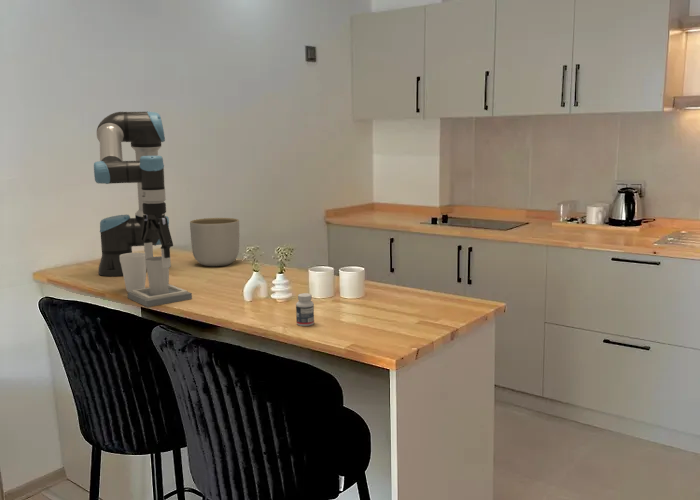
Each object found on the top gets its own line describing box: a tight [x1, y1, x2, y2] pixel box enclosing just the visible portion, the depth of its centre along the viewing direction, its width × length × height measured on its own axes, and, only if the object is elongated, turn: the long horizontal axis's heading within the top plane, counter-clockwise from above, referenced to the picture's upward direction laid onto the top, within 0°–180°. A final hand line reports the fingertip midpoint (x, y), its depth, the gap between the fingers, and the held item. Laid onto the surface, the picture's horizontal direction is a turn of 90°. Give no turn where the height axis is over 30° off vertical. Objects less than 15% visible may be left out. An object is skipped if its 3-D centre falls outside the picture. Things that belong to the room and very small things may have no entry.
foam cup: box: [120, 252, 147, 293], centre depth 236 cm, size 10×9×13 cm
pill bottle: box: [295, 292, 315, 327], centre depth 192 cm, size 5×5×9 cm
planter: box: [189, 217, 240, 267], centre depth 282 cm, size 21×21×19 cm
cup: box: [145, 255, 170, 295], centre depth 223 cm, size 8×8×12 cm
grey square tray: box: [127, 283, 193, 308], centre depth 224 cm, size 16×16×3 cm
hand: (157, 264), depth 222 cm, fingers open, 13 cm apart
